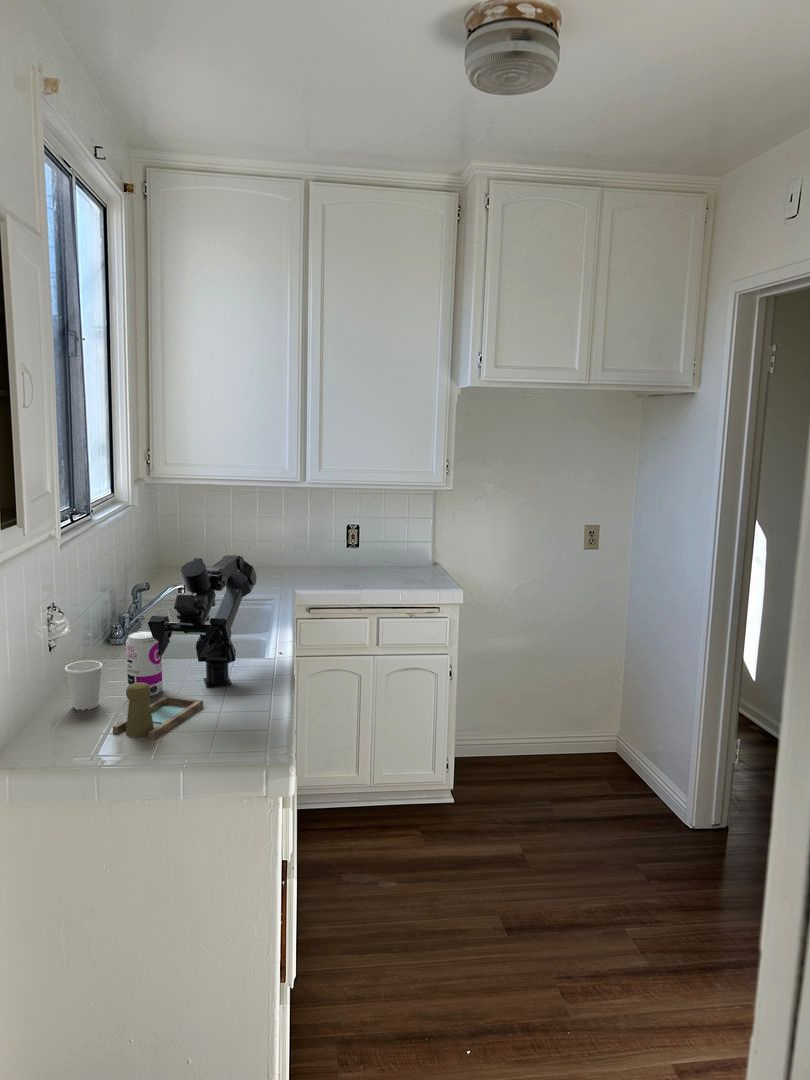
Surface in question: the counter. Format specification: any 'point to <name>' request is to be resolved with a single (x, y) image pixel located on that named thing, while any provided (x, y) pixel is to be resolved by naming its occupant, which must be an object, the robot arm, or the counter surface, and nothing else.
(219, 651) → the robot arm
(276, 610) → the counter surface
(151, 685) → the supplement can
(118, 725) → the rail track
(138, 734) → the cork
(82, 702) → the dixie cup
